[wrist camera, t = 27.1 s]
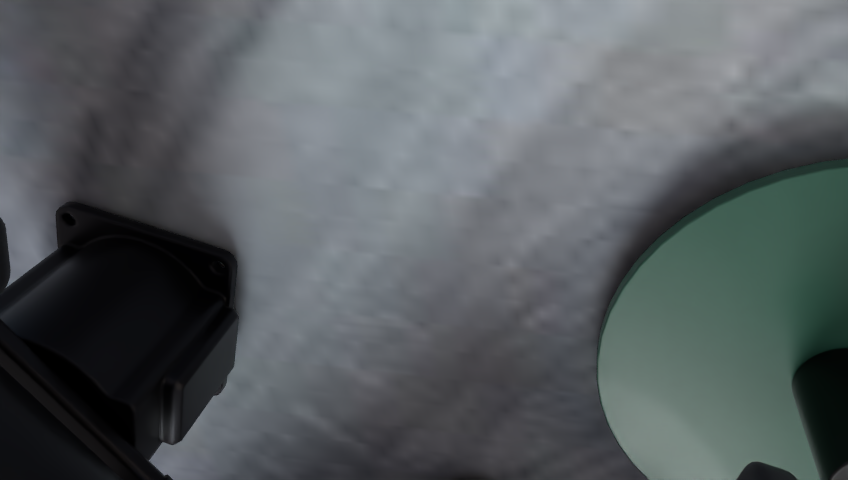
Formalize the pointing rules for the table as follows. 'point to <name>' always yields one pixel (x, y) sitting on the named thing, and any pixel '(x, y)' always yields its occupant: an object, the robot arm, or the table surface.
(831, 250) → the lid
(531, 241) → the table surface
